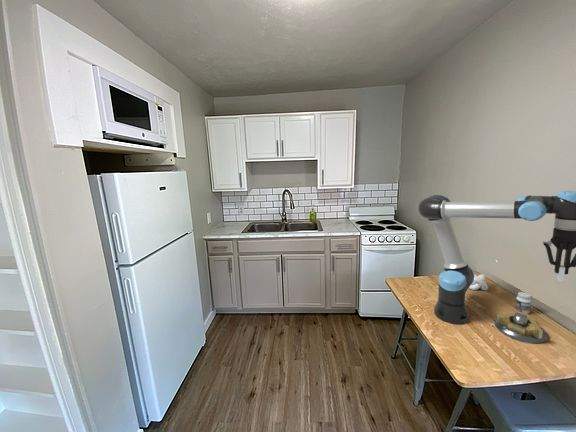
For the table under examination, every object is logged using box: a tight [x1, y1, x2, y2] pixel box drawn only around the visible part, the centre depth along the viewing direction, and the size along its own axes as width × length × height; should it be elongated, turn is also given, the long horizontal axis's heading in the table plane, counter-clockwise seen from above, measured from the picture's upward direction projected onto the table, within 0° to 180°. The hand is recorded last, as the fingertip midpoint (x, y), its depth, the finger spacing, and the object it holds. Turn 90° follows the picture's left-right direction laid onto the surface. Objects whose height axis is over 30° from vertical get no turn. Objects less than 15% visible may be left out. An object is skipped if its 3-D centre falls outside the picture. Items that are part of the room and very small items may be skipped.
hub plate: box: [493, 317, 548, 345], centre depth 114 cm, size 18×18×2 cm
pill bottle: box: [514, 291, 532, 315], centre depth 126 cm, size 6×6×10 cm
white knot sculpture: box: [468, 273, 489, 291], centre depth 151 cm, size 11×12×9 cm
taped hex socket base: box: [495, 310, 543, 339], centre depth 114 cm, size 15×16×4 cm
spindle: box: [513, 312, 529, 328], centre depth 113 cm, size 5×5×8 cm
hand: (559, 280), depth 105 cm, fingers closed
